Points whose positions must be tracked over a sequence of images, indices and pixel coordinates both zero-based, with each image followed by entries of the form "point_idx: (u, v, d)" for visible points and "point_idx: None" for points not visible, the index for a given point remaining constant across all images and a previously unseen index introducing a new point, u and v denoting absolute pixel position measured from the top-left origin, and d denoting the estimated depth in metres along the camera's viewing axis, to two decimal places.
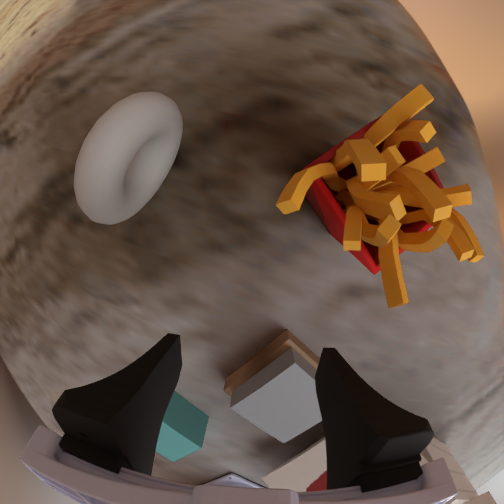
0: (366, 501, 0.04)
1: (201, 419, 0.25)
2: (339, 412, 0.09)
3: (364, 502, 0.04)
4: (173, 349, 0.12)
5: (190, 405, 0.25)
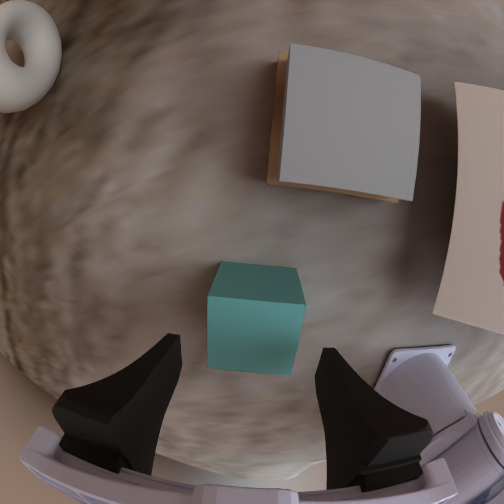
0: (366, 501, 0.04)
1: (285, 274, 0.17)
2: (339, 412, 0.09)
3: (364, 502, 0.04)
4: (173, 349, 0.12)
5: (258, 266, 0.18)
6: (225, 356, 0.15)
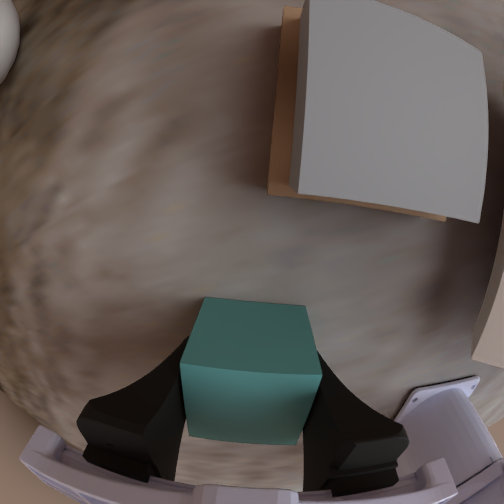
0: (366, 501, 0.04)
1: (291, 318, 0.12)
2: (314, 413, 0.09)
3: (364, 502, 0.04)
4: None
5: (254, 305, 0.13)
6: (210, 427, 0.10)
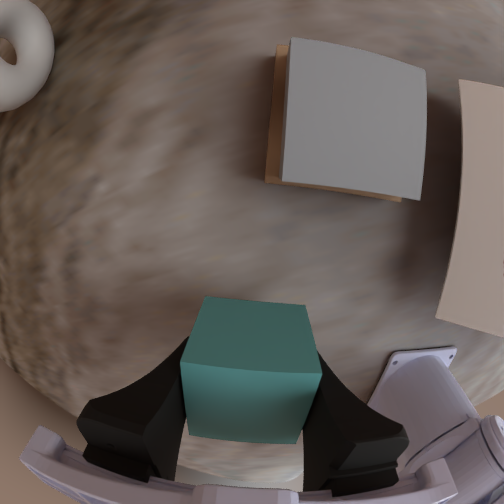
0: (366, 501, 0.04)
1: (291, 317, 0.12)
2: (315, 413, 0.09)
3: (364, 502, 0.04)
4: None
5: (254, 304, 0.13)
6: (211, 426, 0.10)
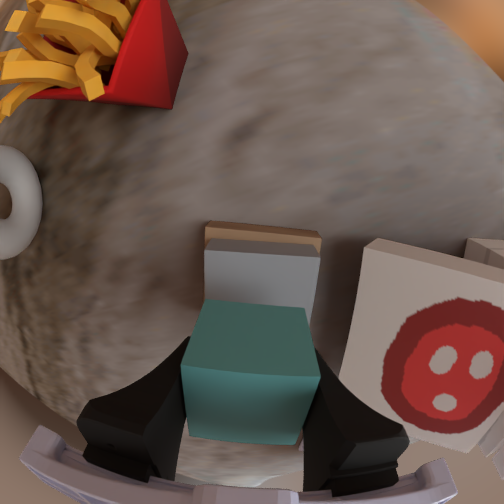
0: (365, 501, 0.04)
1: (290, 319, 0.12)
2: (314, 413, 0.09)
3: (364, 502, 0.04)
4: None
5: (254, 307, 0.13)
6: (210, 427, 0.10)
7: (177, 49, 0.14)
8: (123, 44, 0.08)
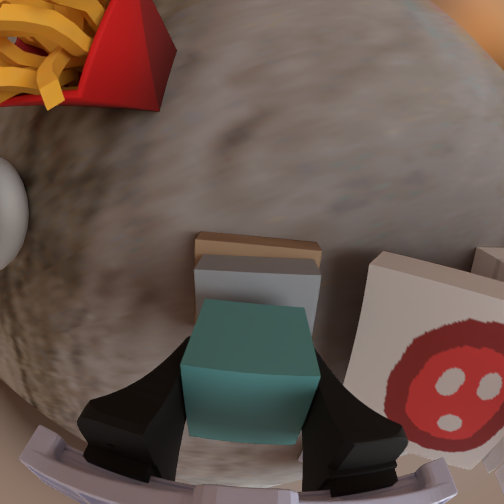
0: (365, 501, 0.04)
1: (290, 319, 0.12)
2: (313, 413, 0.09)
3: (364, 502, 0.04)
4: None
5: (254, 307, 0.13)
6: (210, 427, 0.10)
7: (163, 46, 0.12)
8: (94, 41, 0.06)
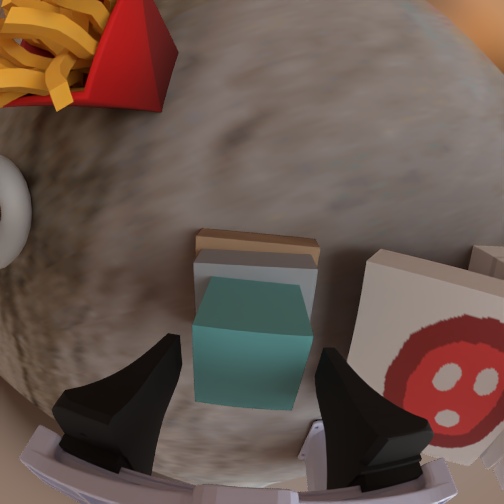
0: (365, 501, 0.04)
1: (287, 293, 0.14)
2: (339, 412, 0.09)
3: (364, 502, 0.04)
4: (173, 349, 0.12)
5: (255, 283, 0.15)
6: (215, 391, 0.12)
7: (165, 48, 0.13)
8: (100, 44, 0.07)
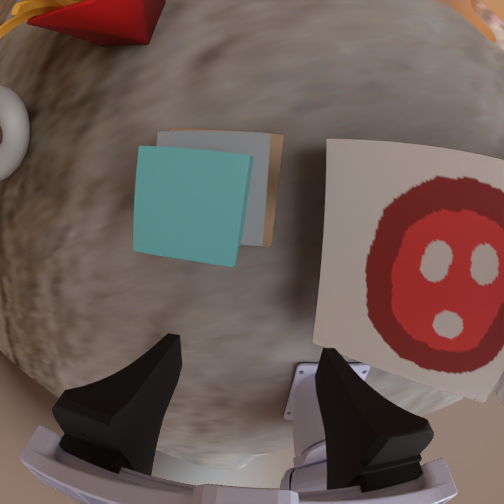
0: (366, 501, 0.04)
1: None
2: (339, 412, 0.09)
3: (364, 502, 0.04)
4: (173, 349, 0.12)
5: None
6: (153, 232, 0.12)
7: None
8: None
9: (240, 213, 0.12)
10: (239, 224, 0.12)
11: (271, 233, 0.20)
